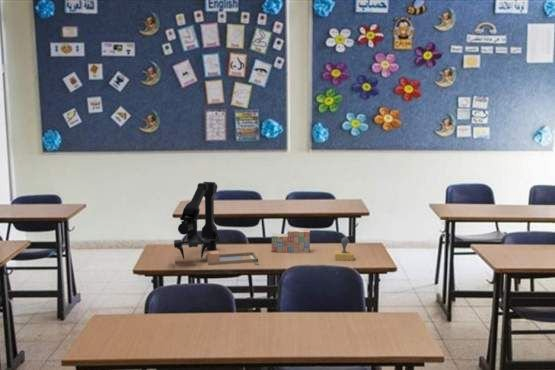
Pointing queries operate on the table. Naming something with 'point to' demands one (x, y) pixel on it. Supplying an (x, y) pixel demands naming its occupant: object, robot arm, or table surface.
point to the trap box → (235, 258)
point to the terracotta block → (213, 256)
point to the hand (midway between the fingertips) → (192, 258)
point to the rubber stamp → (344, 252)
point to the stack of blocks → (292, 241)
